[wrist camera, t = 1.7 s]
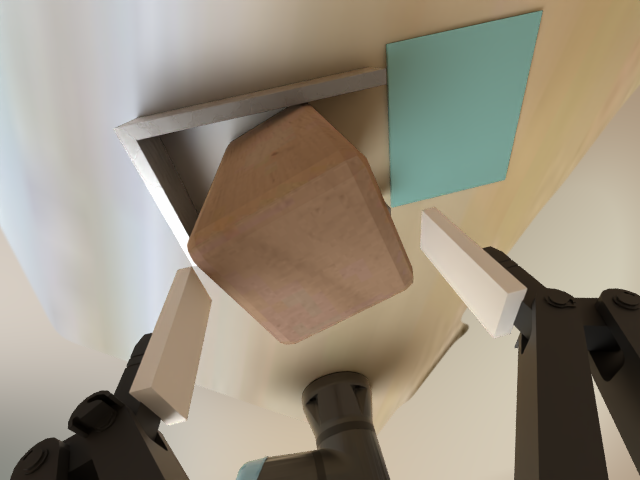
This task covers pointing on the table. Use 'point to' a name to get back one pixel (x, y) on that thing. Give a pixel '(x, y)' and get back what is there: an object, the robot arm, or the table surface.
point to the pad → (456, 106)
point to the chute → (145, 131)
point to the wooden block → (298, 227)
